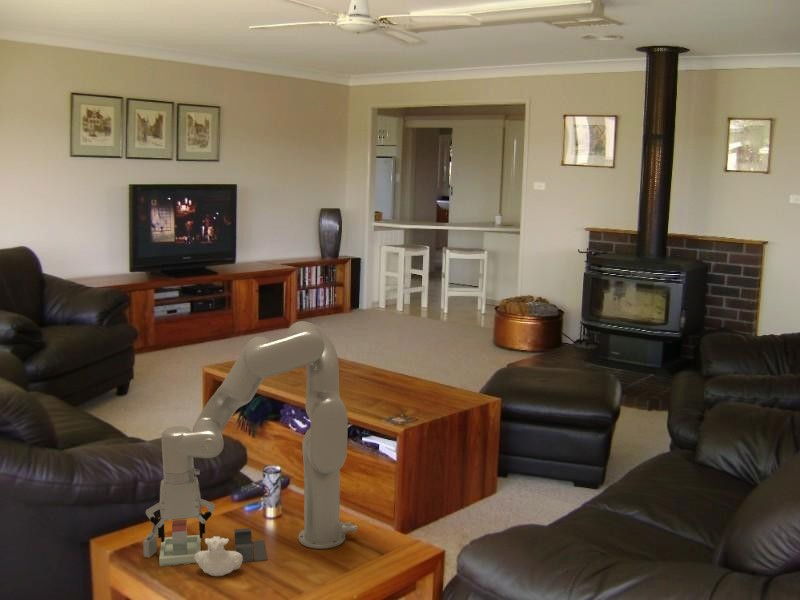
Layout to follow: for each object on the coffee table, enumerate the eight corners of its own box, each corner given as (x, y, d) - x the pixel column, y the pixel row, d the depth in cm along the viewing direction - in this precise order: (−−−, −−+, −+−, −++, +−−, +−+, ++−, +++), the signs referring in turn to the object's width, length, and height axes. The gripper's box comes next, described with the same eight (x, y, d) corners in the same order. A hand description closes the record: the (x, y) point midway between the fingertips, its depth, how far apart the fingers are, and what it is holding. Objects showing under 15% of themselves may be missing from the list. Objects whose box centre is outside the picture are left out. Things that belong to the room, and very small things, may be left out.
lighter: (149, 557, 221) (148, 528, 220) (143, 556, 222) (142, 527, 220) (163, 545, 228) (162, 517, 227) (157, 544, 229) (156, 516, 227)
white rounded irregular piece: (194, 581, 214) (186, 561, 206) (199, 552, 219) (191, 531, 211) (242, 582, 214) (236, 561, 206) (246, 553, 219) (240, 532, 211)
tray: (200, 542, 230) (200, 534, 230) (200, 563, 219) (200, 555, 218) (162, 545, 228) (161, 537, 228) (159, 566, 217) (159, 558, 216)
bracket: (264, 540, 232) (264, 526, 231) (267, 560, 221) (266, 545, 220) (234, 543, 230) (234, 529, 229) (235, 563, 219) (235, 548, 218)
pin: (187, 548, 225) (186, 519, 224) (187, 554, 222) (186, 525, 221) (173, 549, 225) (172, 520, 223) (173, 555, 221) (172, 526, 220)
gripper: (213, 467, 225) (216, 528, 228) (144, 472, 222) (148, 535, 225) (213, 478, 218) (216, 541, 221) (142, 483, 214) (146, 548, 217)
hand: (182, 538), depth 223 cm, fingers open, 9 cm apart
